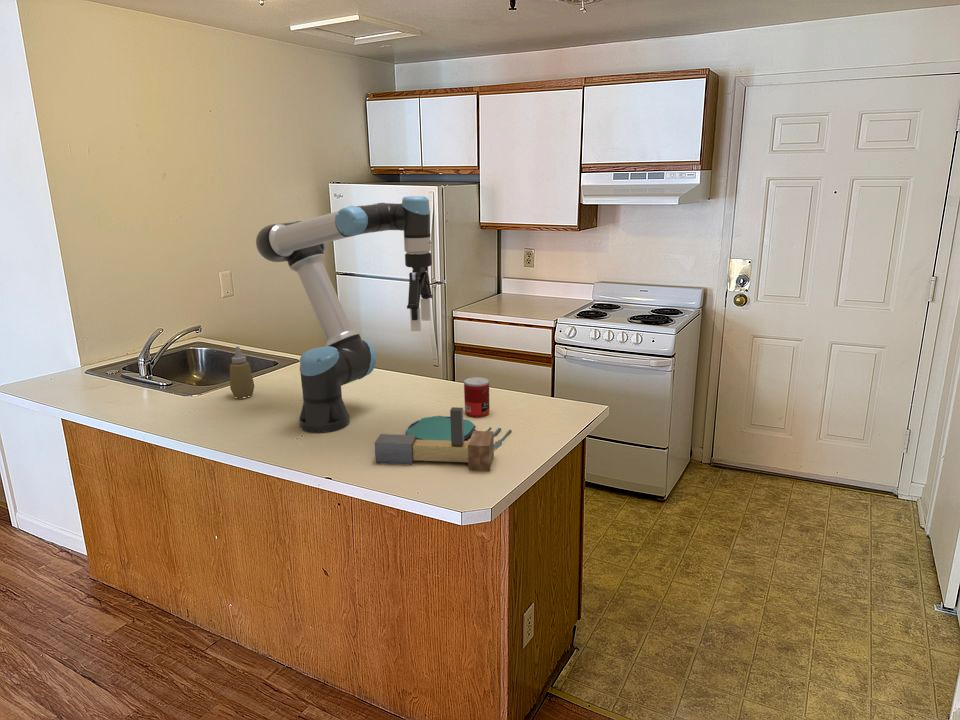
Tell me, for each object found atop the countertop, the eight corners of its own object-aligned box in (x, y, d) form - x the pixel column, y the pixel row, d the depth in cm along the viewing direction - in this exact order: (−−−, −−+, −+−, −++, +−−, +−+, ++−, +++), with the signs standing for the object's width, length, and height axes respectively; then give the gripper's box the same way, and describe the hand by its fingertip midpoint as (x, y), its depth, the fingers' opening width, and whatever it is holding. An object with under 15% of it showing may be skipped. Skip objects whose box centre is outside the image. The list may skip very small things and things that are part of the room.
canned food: (487, 418, 214) (486, 385, 211) (462, 417, 216) (461, 383, 213) (491, 410, 221) (491, 377, 218) (467, 408, 223) (466, 376, 220)
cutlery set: (426, 418, 216) (426, 411, 215) (515, 432, 204) (515, 425, 204) (395, 442, 198) (394, 434, 198) (490, 459, 187) (490, 451, 186)
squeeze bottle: (260, 395, 240) (254, 345, 235) (241, 401, 234) (235, 351, 229) (245, 391, 245) (239, 343, 240) (226, 398, 238) (220, 348, 233)
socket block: (468, 470, 178) (467, 445, 176) (473, 454, 188) (473, 430, 186) (489, 470, 177) (489, 446, 175) (493, 455, 187) (493, 431, 185)
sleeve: (375, 463, 183) (374, 442, 182) (381, 454, 189) (380, 433, 187) (412, 464, 182) (411, 443, 180) (417, 455, 188) (416, 435, 186)
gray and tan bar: (398, 459, 183) (395, 410, 179) (401, 453, 187) (399, 404, 183) (479, 462, 180) (478, 412, 176) (481, 456, 184) (480, 406, 180)
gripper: (421, 258, 181) (425, 335, 187) (439, 247, 205) (441, 316, 211) (394, 258, 182) (398, 335, 188) (414, 247, 206) (418, 316, 212)
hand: (421, 325), depth 199 cm, fingers open, 13 cm apart
